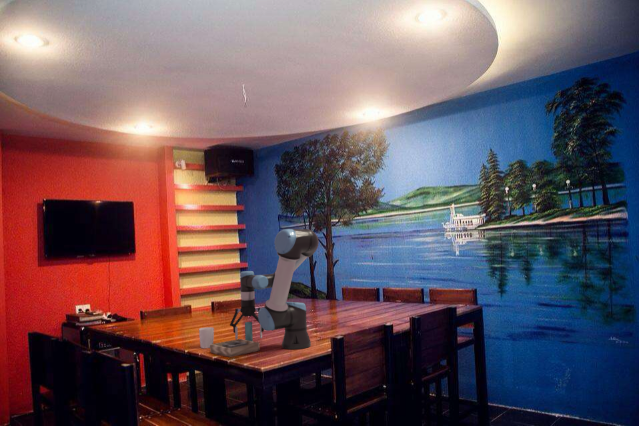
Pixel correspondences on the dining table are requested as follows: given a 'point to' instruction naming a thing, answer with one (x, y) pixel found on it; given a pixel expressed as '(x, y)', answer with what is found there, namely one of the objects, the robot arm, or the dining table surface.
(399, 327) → the dining table surface
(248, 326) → the peg
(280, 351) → the dining table surface
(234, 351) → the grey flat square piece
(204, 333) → the white cup
